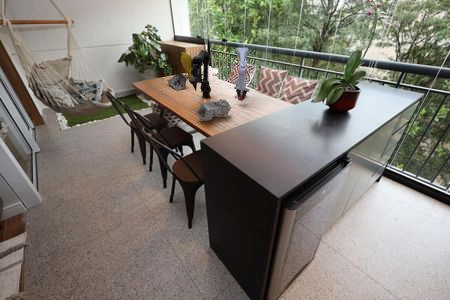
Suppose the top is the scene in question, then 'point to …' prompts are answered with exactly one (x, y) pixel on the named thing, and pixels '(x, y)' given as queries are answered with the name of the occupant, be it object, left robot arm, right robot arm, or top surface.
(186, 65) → the sculpture
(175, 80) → the gray rock
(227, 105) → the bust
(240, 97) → the brick
